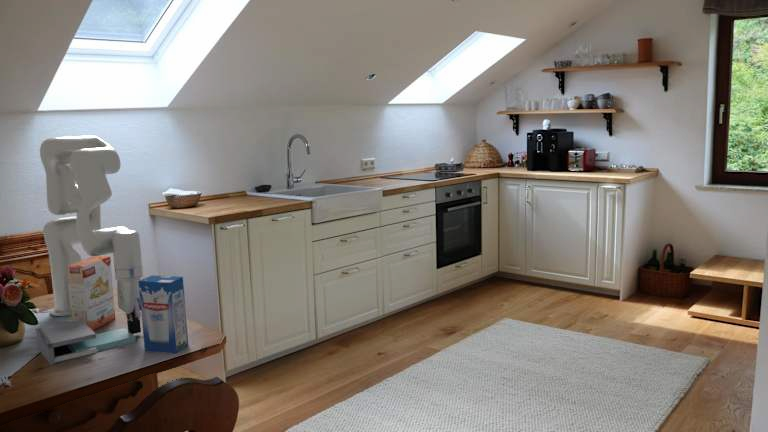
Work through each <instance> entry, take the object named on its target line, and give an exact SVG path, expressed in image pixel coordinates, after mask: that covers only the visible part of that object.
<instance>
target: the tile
mask: <svg viewBox="0 0 768 432" xmlns="http://www.w3.org/2000/svg"><path fill="white" fill-rule="evenodd" d="M135 342H136V336H135V334H131V333H130V332H129V331H128V329H126V328H125V327H122V328H119V329H118V328H117V329H115V330H114V329H113V330H110V331H105V332H100V333H96V338H94V339H89V340H85V341H80V342H76V343H71V344H67V345H66V347H67V348H69V350H70V351H71V353H74V352H78V351H82V350H87V349H91V348H95V347H96V348H97V352H98V351H102V350H107V349H111V348H115V347H118V346H123V345H128V344H131V343H135Z"/></svg>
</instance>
